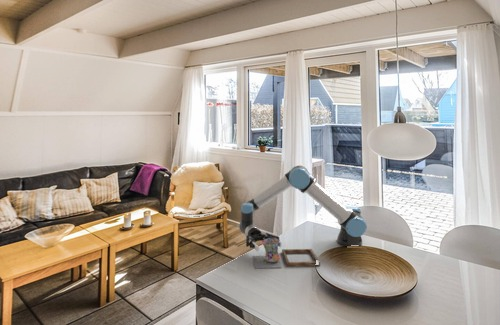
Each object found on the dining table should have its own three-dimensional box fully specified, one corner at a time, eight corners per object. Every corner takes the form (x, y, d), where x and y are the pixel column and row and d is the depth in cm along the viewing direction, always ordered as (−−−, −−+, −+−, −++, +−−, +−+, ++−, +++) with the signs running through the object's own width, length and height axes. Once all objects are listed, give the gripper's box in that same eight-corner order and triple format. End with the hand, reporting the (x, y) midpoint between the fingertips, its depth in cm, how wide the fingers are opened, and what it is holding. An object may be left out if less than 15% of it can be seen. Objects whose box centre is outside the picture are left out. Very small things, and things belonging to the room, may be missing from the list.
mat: (277, 256, 166) (277, 255, 166) (281, 268, 152) (281, 267, 152) (253, 256, 165) (253, 256, 165) (254, 268, 151) (254, 267, 151)
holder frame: (311, 252, 172) (311, 248, 172) (319, 266, 155) (320, 262, 154) (281, 252, 171) (282, 249, 171) (287, 266, 154) (287, 263, 153)
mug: (282, 262, 155) (280, 243, 154) (265, 264, 155) (263, 245, 153) (278, 252, 167) (276, 235, 166) (262, 254, 166) (260, 237, 165)
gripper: (271, 236, 179) (289, 249, 160) (233, 242, 169) (247, 257, 150) (272, 224, 178) (290, 236, 159) (233, 230, 169) (247, 243, 149)
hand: (269, 246), depth 154 cm, fingers open, 13 cm apart
